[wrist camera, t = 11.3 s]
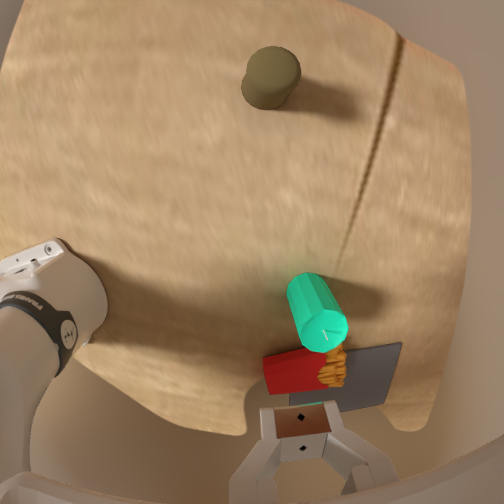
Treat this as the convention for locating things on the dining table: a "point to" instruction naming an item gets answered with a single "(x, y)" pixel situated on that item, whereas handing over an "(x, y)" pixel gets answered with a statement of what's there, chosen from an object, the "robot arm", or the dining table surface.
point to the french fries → (304, 370)
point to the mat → (358, 380)
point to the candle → (316, 313)
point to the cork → (270, 77)
